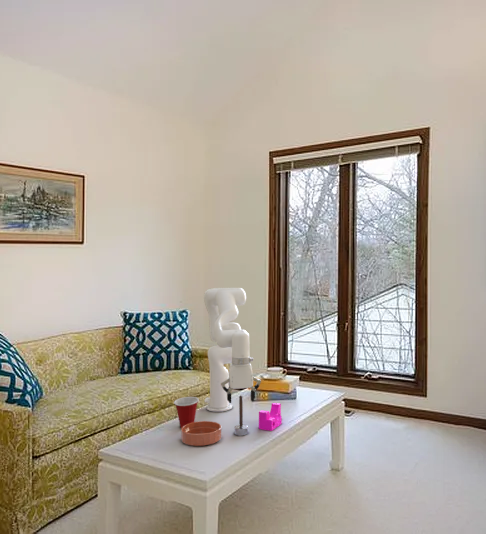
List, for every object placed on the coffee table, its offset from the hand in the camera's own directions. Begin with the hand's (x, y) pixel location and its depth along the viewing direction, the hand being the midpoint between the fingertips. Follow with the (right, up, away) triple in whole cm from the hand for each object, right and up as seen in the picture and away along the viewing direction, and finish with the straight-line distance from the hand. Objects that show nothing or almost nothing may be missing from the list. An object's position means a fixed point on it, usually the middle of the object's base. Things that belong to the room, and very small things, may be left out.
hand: (241, 401), depth 208 cm
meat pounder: (0, -14, +1) cm, 14 cm away
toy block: (+13, -14, +12) cm, 22 cm away
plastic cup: (-25, -14, +9) cm, 30 cm away
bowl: (-16, -14, -7) cm, 22 cm away
